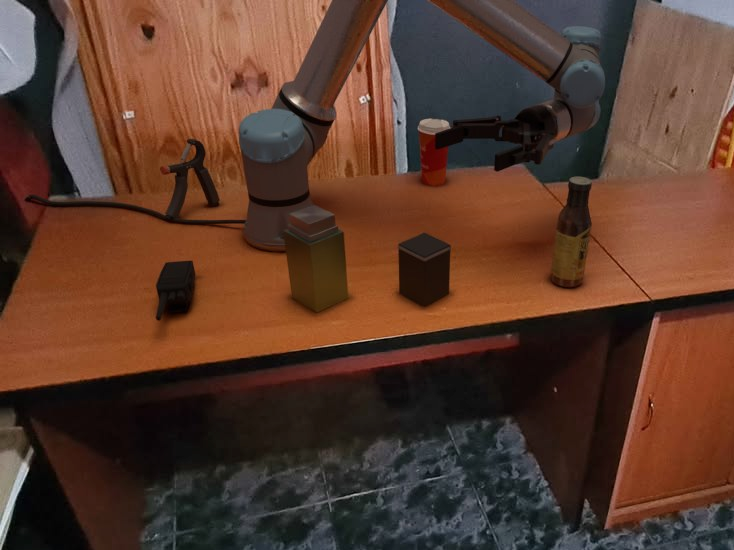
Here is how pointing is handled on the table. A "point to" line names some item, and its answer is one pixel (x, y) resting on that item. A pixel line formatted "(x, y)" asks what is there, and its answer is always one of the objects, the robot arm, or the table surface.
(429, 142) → the paper cup
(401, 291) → the dark lidded box
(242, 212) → the table surface
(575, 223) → the sauce bottle
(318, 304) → the olive square canister
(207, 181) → the hand grip strengthener
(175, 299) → the walkie-talkie
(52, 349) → the table surface
